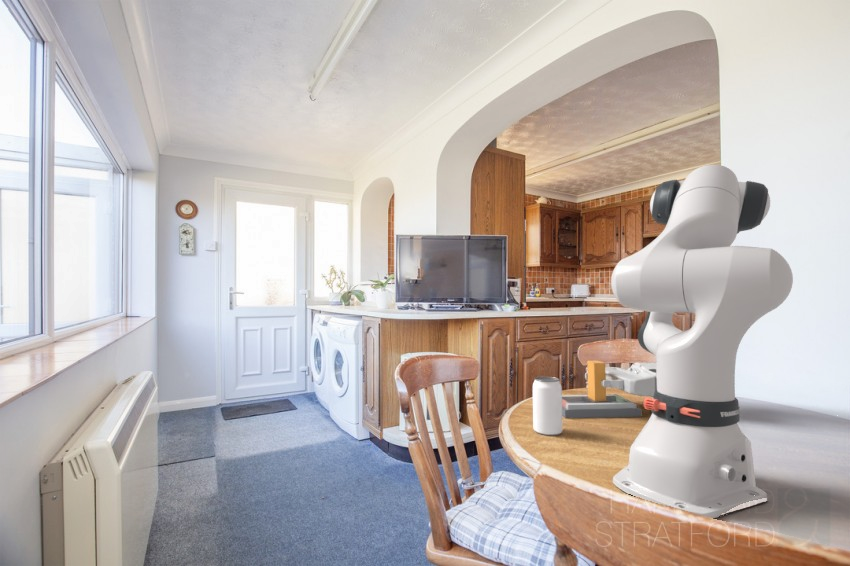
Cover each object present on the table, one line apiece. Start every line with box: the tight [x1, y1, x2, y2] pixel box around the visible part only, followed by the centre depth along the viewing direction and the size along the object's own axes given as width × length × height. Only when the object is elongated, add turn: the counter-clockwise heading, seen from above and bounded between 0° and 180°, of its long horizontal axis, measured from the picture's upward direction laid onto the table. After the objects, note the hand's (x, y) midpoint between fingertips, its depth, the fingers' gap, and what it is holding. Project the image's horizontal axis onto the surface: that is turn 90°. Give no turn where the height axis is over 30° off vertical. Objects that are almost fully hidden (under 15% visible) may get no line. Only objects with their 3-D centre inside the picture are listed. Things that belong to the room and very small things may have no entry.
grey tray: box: [562, 394, 643, 419], centre depth 107 cm, size 20×11×3 cm, turn 92°
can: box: [532, 375, 563, 437], centre depth 91 cm, size 6×6×12 cm
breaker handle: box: [583, 360, 612, 403], centre depth 107 cm, size 5×6×11 cm
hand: (593, 379), depth 107 cm, fingers open, 8 cm apart
